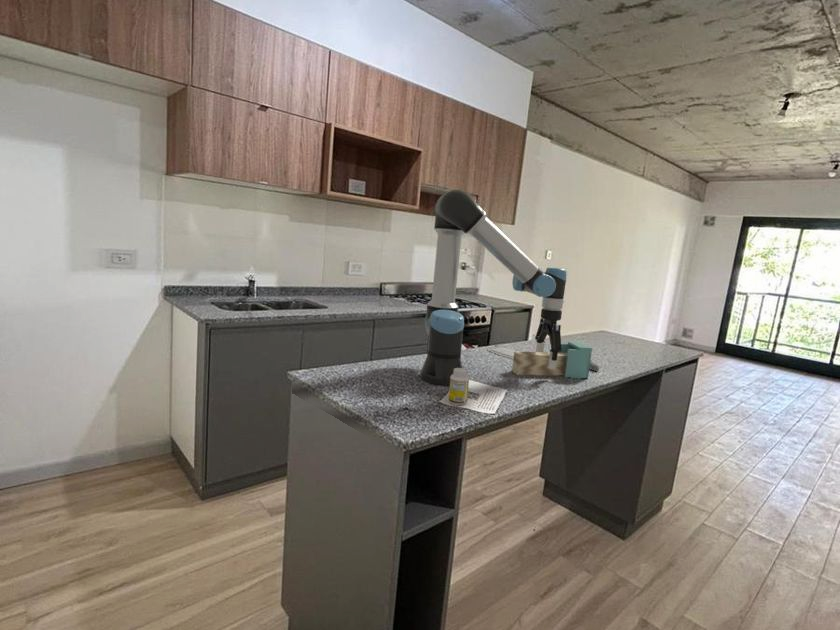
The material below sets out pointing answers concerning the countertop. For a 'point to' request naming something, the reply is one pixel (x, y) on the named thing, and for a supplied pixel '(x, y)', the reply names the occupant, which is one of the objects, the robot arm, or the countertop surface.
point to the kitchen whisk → (593, 366)
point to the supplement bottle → (458, 387)
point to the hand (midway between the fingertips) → (545, 363)
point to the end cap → (577, 359)
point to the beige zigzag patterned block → (537, 363)
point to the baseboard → (503, 352)
